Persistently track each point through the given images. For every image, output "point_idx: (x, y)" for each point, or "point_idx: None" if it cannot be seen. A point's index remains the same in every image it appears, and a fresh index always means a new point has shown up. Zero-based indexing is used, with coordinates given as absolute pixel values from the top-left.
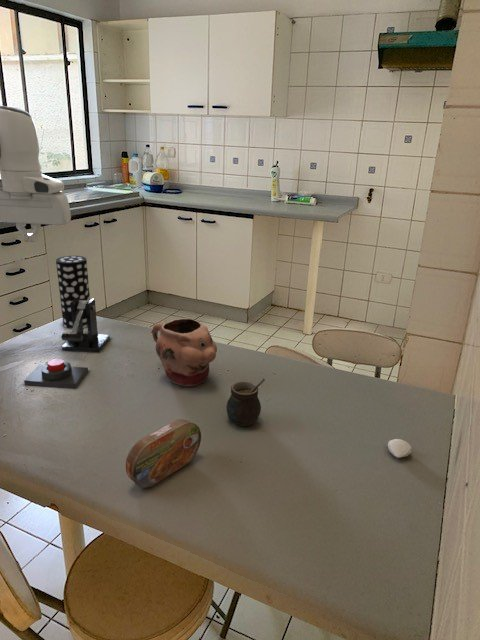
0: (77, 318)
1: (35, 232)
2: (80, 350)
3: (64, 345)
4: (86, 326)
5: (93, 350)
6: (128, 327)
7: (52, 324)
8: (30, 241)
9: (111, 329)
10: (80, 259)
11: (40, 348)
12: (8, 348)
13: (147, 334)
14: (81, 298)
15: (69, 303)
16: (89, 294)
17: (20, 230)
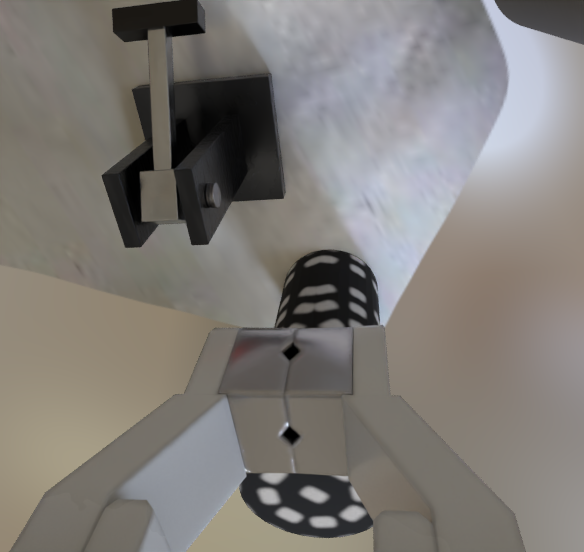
0: (163, 120)
1: (135, 433)
2: (202, 80)
3: (262, 86)
4: (289, 271)
5: None
6: (162, 288)
7: (411, 269)
8: (277, 328)
9: (202, 266)
10: (269, 496)
11: (359, 70)
12: (485, 39)
13: (80, 251)
14: None
15: (322, 303)
16: None
17: (411, 451)
